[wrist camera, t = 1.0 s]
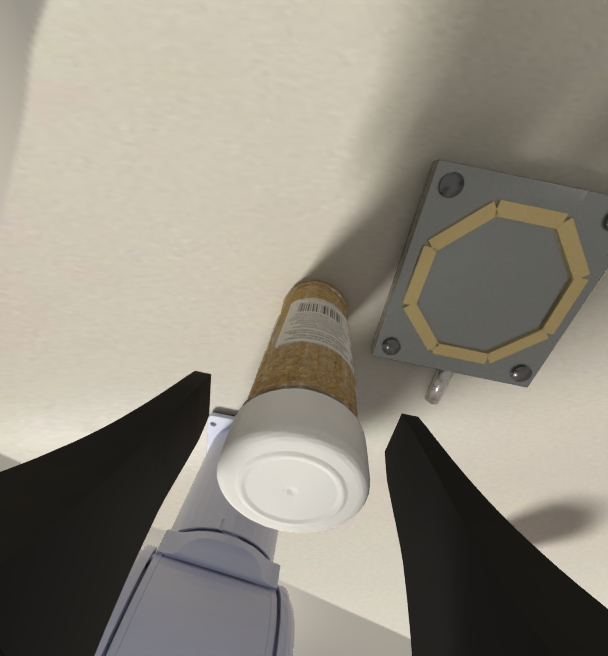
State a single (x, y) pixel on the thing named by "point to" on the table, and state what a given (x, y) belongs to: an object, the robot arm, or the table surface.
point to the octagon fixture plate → (491, 274)
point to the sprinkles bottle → (300, 423)
